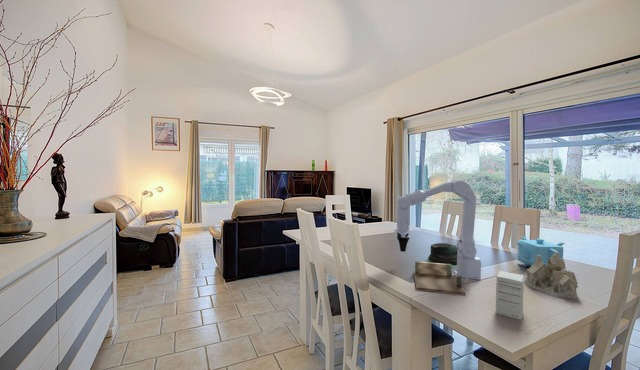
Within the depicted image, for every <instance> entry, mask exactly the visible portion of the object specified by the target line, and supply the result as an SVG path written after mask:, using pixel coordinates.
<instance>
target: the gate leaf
mask: <svg viewBox="0 0 640 370" xmlns="http://www.w3.org/2000/svg"><path fill="white" fill-rule="evenodd" d="M414 271H415V273H421V274H432V275H443V276H452V272H453V267H452V265H451V264H441V263H432V262H429V261H428V262H426V261H417V260H416V261H415V262H414Z"/></svg>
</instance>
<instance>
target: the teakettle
mask: <svg viewBox="0 0 640 370" xmlns="http://www.w3.org/2000/svg"><path fill="white" fill-rule="evenodd" d="M520 238H521V239H518V240H517V241H514V243H515V244H517V261H519V262H521V263H523V264H522V266H523V265H524V267H527V266H530V267H531V266H532V265H533V264H534V263H535V260H536V256H537V255H541V256H542V263H544V264H545V265H546V266H548V264H547V263H548V260H549V257H552V256H553V254H555V252H558V253H559V258H560V259H564V246H563V245H565V244H566V242H558V243H557V244H556V243H555V244H554V243H551V242H548V241H545V239H543V238H535V239H527V238H526V237H524V236H520Z"/></svg>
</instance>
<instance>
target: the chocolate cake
mask: <svg viewBox="0 0 640 370" xmlns="http://www.w3.org/2000/svg"><path fill="white" fill-rule="evenodd" d="M458 253H459V250H458V249H457V245H453V244H450V243H447V242H446V243H445V242H444V243H443V242H441V243H440V242H438V243H433V244H431V245H430V253H429V256H428V258H427V260H425V262H429V263H441V264H451V265H452V268H457V254H458Z"/></svg>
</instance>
